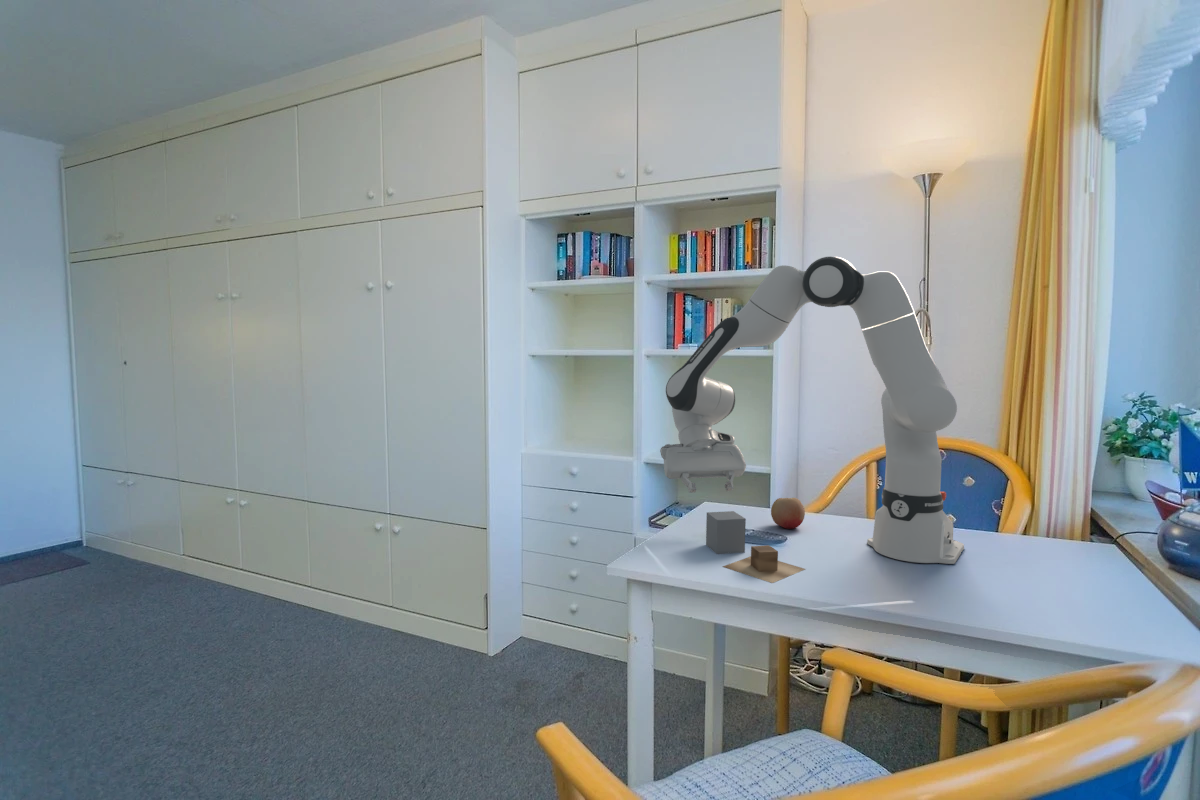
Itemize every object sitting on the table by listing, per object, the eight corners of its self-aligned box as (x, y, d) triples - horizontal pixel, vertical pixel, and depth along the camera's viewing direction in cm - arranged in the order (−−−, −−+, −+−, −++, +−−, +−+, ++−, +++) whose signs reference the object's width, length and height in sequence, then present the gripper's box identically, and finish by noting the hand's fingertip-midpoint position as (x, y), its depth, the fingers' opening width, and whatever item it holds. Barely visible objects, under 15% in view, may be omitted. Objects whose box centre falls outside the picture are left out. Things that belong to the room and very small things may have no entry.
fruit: (796, 523, 164) (797, 493, 163) (808, 532, 156) (809, 500, 155) (766, 523, 163) (767, 493, 163) (777, 532, 155) (778, 500, 155)
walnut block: (750, 565, 130) (751, 546, 130) (768, 563, 131) (768, 545, 131) (759, 571, 126) (759, 552, 126) (777, 570, 127) (778, 551, 127)
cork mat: (756, 556, 137) (756, 554, 137) (805, 570, 128) (805, 568, 128) (722, 568, 129) (722, 566, 129) (772, 585, 120) (772, 583, 120)
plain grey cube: (705, 546, 144) (706, 512, 143) (732, 544, 145) (733, 511, 144) (716, 555, 137) (717, 520, 136) (744, 554, 138) (745, 518, 138)
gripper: (661, 437, 153) (673, 484, 145) (739, 435, 157) (755, 481, 148) (656, 452, 158) (667, 499, 149) (731, 450, 162) (746, 495, 153)
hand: (711, 490), depth 149 cm, fingers open, 8 cm apart
